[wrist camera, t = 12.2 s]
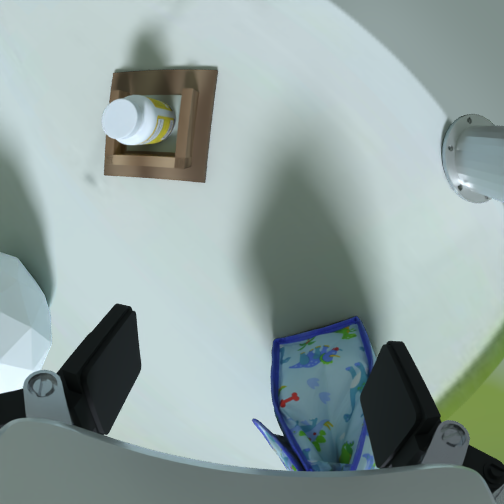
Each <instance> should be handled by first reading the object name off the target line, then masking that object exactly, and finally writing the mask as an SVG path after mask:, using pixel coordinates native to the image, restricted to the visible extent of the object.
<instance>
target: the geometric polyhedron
mask: <svg viewBox="0 0 504 504" xmlns="http://www.w3.org/2000/svg"><path fill="white" fill-rule="evenodd" d="M51 345H52V333H51V314H50V311H49V308H48V304H47V301H46V298H45V295H44V293H43V292H42V290H41V289H40V287H39V285H38V284H37V282H36V281H35V279H34V278H33V277H32V276H31V274H30V273H29V272H28V271H27V269H26V268H25V267H24V265H23V264H22V263H21V262H20V260H19V259H18V258H17V257H14V256H11V255H8V254H5V253H2V252H0V394H1V393H6V392H10V391H15V390H18V389H20V388H22V387H23V385H24V381H25V379H26V378H27V377H28V376H29V375H30V374H32V373H33V372H35V371H39V370H41V368H42V366H43V363H44V361H45V359H46V356H47V354H48V352H49V349H50V347H51Z"/></svg>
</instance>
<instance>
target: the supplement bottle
mask: <svg viewBox="0 0 504 504" xmlns="http://www.w3.org/2000/svg"><path fill="white" fill-rule="evenodd" d="M175 123H176V117H175V113H174V111H173V109H172V108H171V107H170V106H169V105H168V104H167V103H165V102H162V101H159V100H155V99H152V98H149V97H145V96H141V95H130V96H127V97H125V98H121V99H116V100H114V101H112V102H111V103H110V104H109V105H108V106H107V107H106V108H105V110H104V112H103V115H102V127H103V130H104V132H105V133H106V134H107V135H108V136H109V137H111V138H113V139H116V140H117V141H119V142H120V143H122V144H125V145H142V144H155V143H159V142H162V141H164V140H166V139H167V138H168V137H169V136H170V135H171V134H172V132H173V130H174V128H175Z"/></svg>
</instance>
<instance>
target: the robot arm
mask: <svg viewBox="0 0 504 504" xmlns="http://www.w3.org/2000/svg"><path fill="white" fill-rule="evenodd" d="M442 159H443V167H444V171H445V175H446V177H447V180H448V182H449V184H450V186H451V187H452V189H453V190H454V191H455V192H456V194H457V195H459V196H460V197H461V198H462V199H464V200H467V201H469V202H472V203H484V202H487V201H489V200H491V199H492V198H493V199H495V200H498V201H501V202H503V203H504V126H495V125H493V123H491V121H489V120H488V119H486V118H485V117H483V116H480V115H475V114H469V115H464V116H461V117H459V118H458V119H456V120H455V121H454V122H453V123H452V124H451V125H450V127H449V129H448V131H447V133H446V135H445V138H444V143H443V148H442ZM140 370H141V358H140V350H139V341H138V331H137V319H136V312H135V311H132V308H131V307H130V306H126V305H122V304H115V305H114V307H113V308H112V309H111V310H110V311H109V312H108V313H107V315H106V316H105V317H104V318H103V319H102V320H101V322H100V323H99V324H98V325H97V326H96V327H95V329H94V330H93V331H92V332H91V333H89V334H88V335H87V337H86V338H85V339H84V340H83V341H82V343H81V344H80V345H79V346H78V347H77V349H76V350H75V351H74V352H73V353H72V355H71V356H70V357H69V358H68V360H67V361H66V362H65V363H64V365H63V366H62V367H61V368H60V370H59V371H58V372H57V373H55V372H53V371H49V370H39V371H35V372H33V373H32V374H30V375H29V376H28V377H27V378H26V379H25V381H24V385H23V389H20V390H15V391H10V392H6V393H1V394H0V504H504V465H503V464H502V462H500V461H499V460H497V459H495V458H493V457H491V456H489V455H488V454H486V453H484V452H482V451H480V450H478V449H476V448H474V447H472V446H470V445H469V440H470V437H469V433H468V431H467V430H466V428H464V426H463V425H461V424H460V423H458V422H456V421H449V420H448V421H444V422H441V420H440V417H441V415H440V413H439V411H438V409H437V407H436V405H435V403H434V401H433V399H432V397H431V395H430V392H429V390H428V388H427V386H426V384H425V382H424V380H423V378H422V377H421V375H420V373H419V371H418V369H417V367H416V365H415V363H414V361H413V359H412V357H411V355H410V354H409V352H408V350H407V348H406V346H405V344H404V343H403V342H400V341H388V342H387V344H385V345H383V346H382V348H381V350H380V353H379V355H378V357H377V360H376V362H375V364H374V366H373V369H372V371H371V373H370V375H369V377H368V379H367V382H366V384H365V386H364V388H363V390H362V392H361V395H360V403H361V407H362V411H363V415H364V418H365V422H366V426H367V430H368V435H369V439H370V443H371V447H372V451H373V456H374V460H375V465H376V467H377V468H380V469H370V470H356V471H328V472H312V471H283V470H268V469H257V468H247V467H239V466H231V465H224V464H218V463H211V462H206V461H200V460H195V459H190V458H185V457H180V456H176V455H171V454H167V453H163V452H159V451H155V450H151V449H147V448H144V447H140V446H137V445H133V444H130V443H126V442H123V441H120V440H117V439H113V438H110V437H107V436H104V434H105V435H107V434H108V433H109V432H110V430H111V428H112V426H113V424H114V422H115V420H116V418H117V416H118V414H119V412H120V410H121V408H122V406H123V404H124V402H125V400H126V398H127V396H128V394H129V392H130V390H131V388H132V387H133V385H134V383H135V381H136V379H137V377H138V375H139V373H140Z"/></svg>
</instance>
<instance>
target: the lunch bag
mask: <svg viewBox="0 0 504 504" xmlns="http://www.w3.org/2000/svg"><path fill="white" fill-rule="evenodd" d="M376 360H377V359H376V356H375V354H374V351H373V348H372V345H371V343H370V340H369V337H368V335H367V332H366V330H365V328H364V326H363V323H362V321H361V320H360V319H359V318H358V317H357V316H355V317H353V318H350V319H347V320H344V321H342V322H338V323H335V324H333V325H329V326H326V327H323V328H319V329H315V330H311V331H308V332H304V333H300V334H296V335H292V336H288V337H284V338H277V339H275V340H274V341H273V347H272V366H271V394H272V402H273V406H274V412H275V416H276V418H277V421H278V423H279V426H280V428H281V430H282V432H283V434H284V436H280V435H276V434H273V433H272V432H271V431H270V430H269V429H267V428H266V427H265V426H264V425H263V424H262V423H261V422H260V421H258V420H256V419H252V421H253V423H254V424H255V425H256V427H257V428H258V429H259V430H260V432H261V433H262V434H263V435H264V437H265V438H266V440H267V441H268V443H269V444H270V446H271V447H272V449H273V450H274V451H275V452H276V454H277V455H278V456H279V458H280V459H281V461H282V462H283V464H284V466H285V467H286V469H287V470H288V471H312V472H328V471H356V470H370V469H380V468H377V467H376V465H375V460H374V456H373V451H372V447H371V443H370V439H369V435H368V430H367V426H366V422H365V418H364V415H363V411H362V407H361V403H360V395H361V392H362V390H363V388H364V386H365V384H366V382H367V379H368V377H369V375H370V373H371V371H372V369H373V366H374V364H375V362H376Z"/></svg>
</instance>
